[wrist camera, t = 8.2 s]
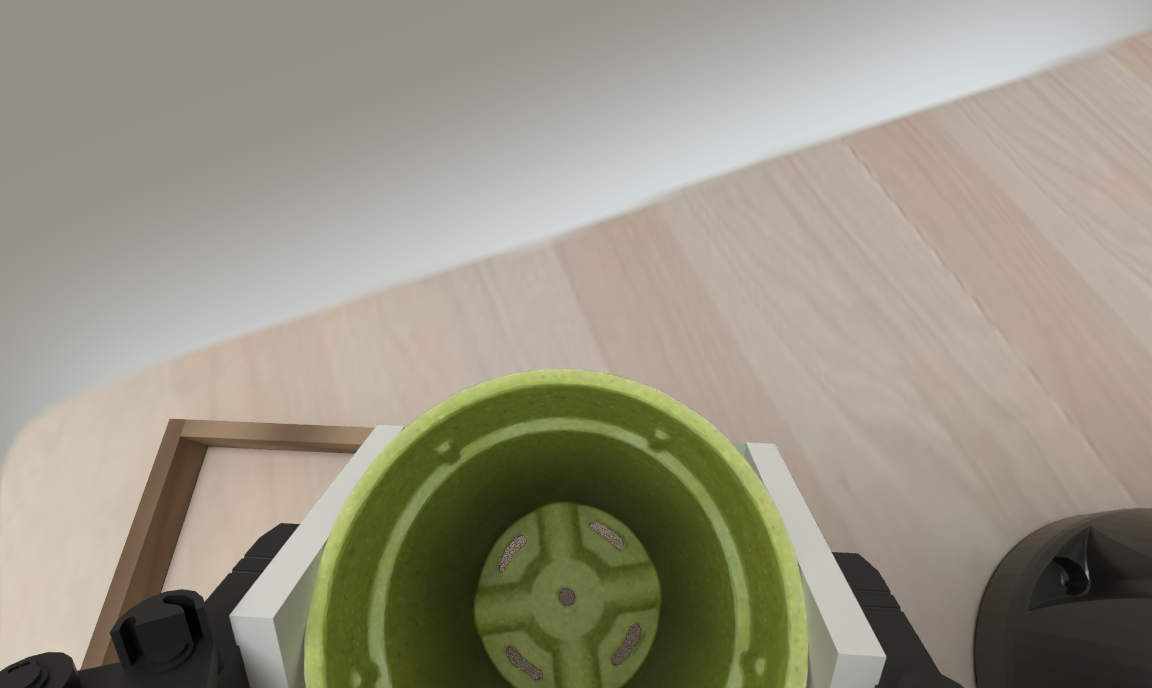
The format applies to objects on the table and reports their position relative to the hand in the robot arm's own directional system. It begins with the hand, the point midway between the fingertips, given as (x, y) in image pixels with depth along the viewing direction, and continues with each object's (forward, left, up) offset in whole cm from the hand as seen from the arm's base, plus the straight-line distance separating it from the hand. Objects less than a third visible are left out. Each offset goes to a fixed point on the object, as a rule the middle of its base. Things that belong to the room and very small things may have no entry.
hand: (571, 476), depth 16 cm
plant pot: (0, +3, -5) cm, 6 cm away
